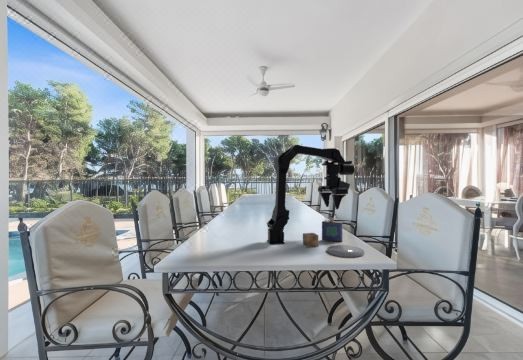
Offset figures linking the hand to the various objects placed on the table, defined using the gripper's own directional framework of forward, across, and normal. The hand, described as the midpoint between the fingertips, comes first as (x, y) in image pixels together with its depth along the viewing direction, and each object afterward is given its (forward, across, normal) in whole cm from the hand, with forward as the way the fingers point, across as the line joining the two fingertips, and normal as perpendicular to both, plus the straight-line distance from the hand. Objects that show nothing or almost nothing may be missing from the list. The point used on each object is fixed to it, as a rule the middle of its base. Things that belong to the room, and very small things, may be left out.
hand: (332, 208), depth 134 cm
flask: (+15, -4, +2) cm, 15 cm away
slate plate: (+15, -22, +6) cm, 27 cm away
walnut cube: (+15, -9, +15) cm, 23 cm away
